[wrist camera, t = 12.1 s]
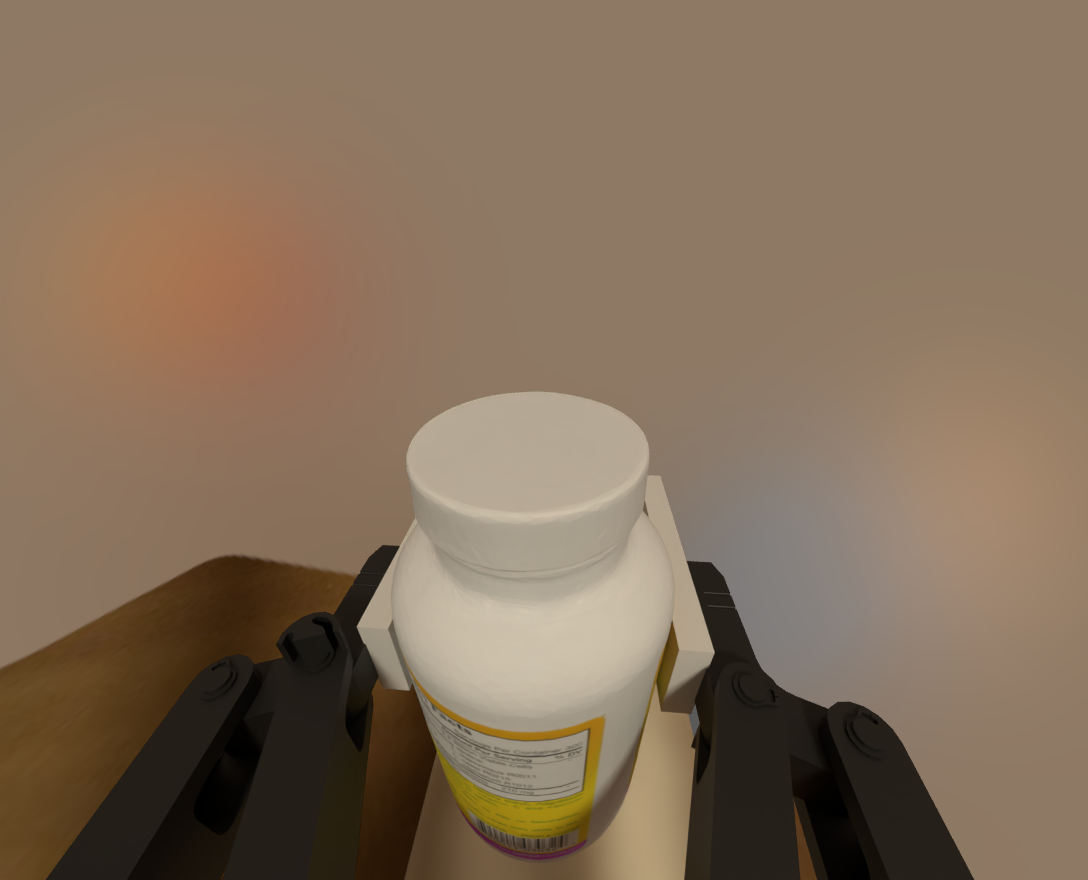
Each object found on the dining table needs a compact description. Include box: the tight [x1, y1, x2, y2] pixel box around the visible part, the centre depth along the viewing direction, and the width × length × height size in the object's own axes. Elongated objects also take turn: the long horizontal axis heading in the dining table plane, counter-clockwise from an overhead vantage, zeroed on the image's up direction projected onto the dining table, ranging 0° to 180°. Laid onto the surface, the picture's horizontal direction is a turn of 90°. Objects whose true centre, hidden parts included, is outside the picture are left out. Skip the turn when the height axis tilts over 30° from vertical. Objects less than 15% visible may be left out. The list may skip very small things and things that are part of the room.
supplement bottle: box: [391, 392, 675, 863], centre depth 11 cm, size 7×7×13 cm
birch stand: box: [404, 684, 695, 880], centre depth 20 cm, size 14×14×3 cm
